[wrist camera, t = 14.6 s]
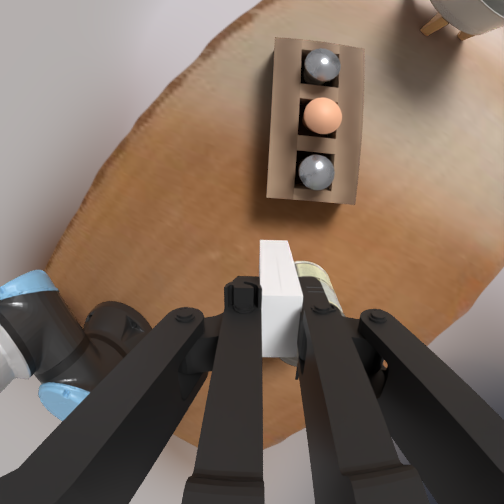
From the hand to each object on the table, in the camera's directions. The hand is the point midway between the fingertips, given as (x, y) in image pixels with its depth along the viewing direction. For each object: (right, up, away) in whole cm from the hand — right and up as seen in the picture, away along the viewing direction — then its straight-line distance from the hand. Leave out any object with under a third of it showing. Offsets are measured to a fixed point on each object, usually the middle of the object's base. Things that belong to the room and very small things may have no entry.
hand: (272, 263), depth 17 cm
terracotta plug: (+7, +19, +22) cm, 30 cm away
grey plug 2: (+7, +13, +26) cm, 30 cm away
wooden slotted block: (+8, +20, +25) cm, 32 cm away
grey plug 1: (+8, +26, +21) cm, 34 cm away
